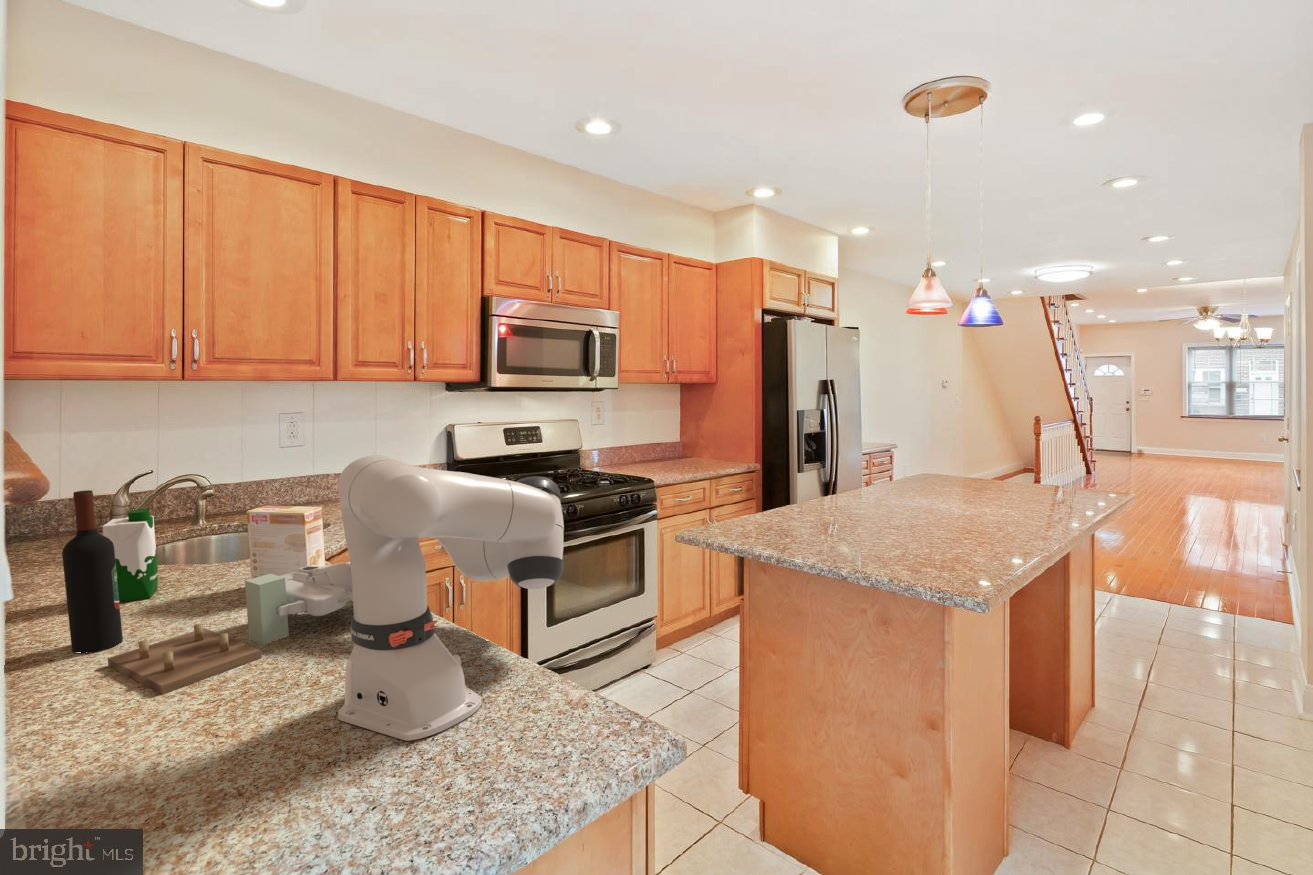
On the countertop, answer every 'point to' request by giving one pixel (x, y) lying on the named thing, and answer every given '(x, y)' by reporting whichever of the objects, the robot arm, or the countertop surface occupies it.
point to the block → (266, 608)
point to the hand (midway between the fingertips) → (263, 606)
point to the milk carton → (134, 554)
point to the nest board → (183, 659)
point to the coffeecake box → (284, 539)
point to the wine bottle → (91, 583)
